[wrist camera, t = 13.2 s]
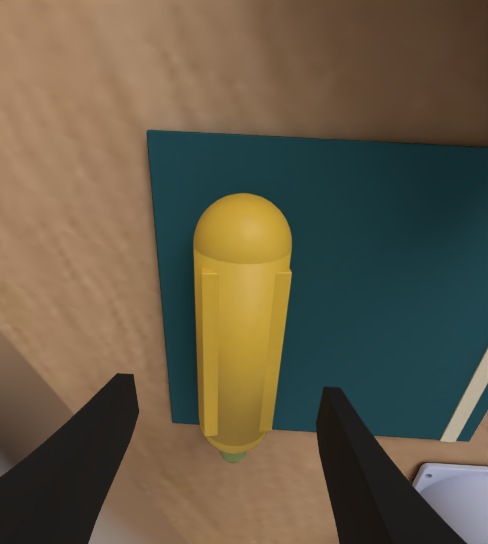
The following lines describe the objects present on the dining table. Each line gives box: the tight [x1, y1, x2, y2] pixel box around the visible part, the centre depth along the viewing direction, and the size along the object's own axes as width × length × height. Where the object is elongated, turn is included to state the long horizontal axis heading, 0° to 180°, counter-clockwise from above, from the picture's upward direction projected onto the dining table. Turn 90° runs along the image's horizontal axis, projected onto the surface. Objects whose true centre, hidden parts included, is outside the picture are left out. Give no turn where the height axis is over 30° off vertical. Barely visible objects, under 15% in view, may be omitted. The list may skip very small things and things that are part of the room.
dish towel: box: [147, 130, 488, 442], centre depth 16 cm, size 18×20×1 cm
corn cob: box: [193, 193, 292, 463], centre depth 15 cm, size 4×15×4 cm, turn 178°
